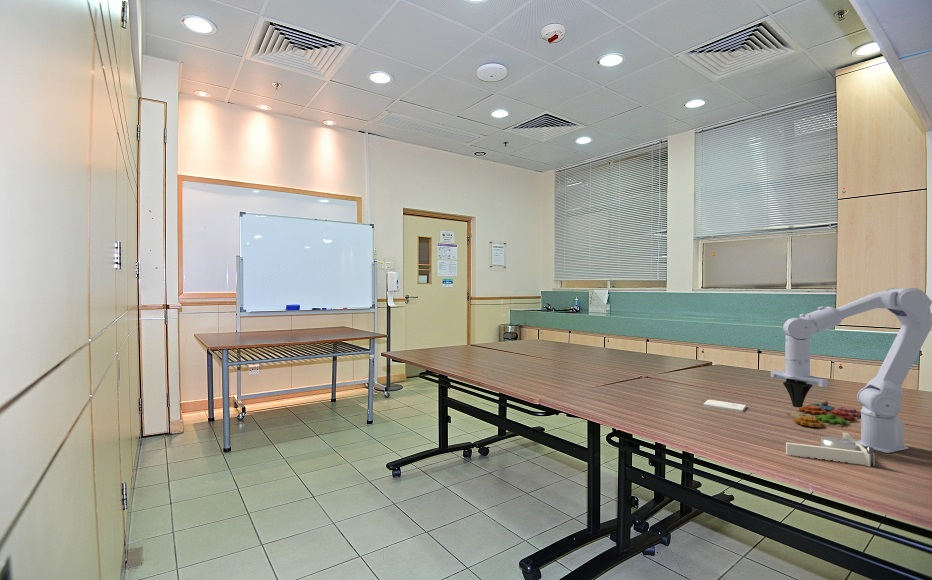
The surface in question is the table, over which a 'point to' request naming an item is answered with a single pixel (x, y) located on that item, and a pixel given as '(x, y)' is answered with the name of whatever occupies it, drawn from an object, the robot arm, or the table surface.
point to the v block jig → (834, 452)
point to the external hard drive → (725, 405)
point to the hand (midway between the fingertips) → (797, 406)
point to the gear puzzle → (824, 415)
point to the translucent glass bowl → (837, 443)
